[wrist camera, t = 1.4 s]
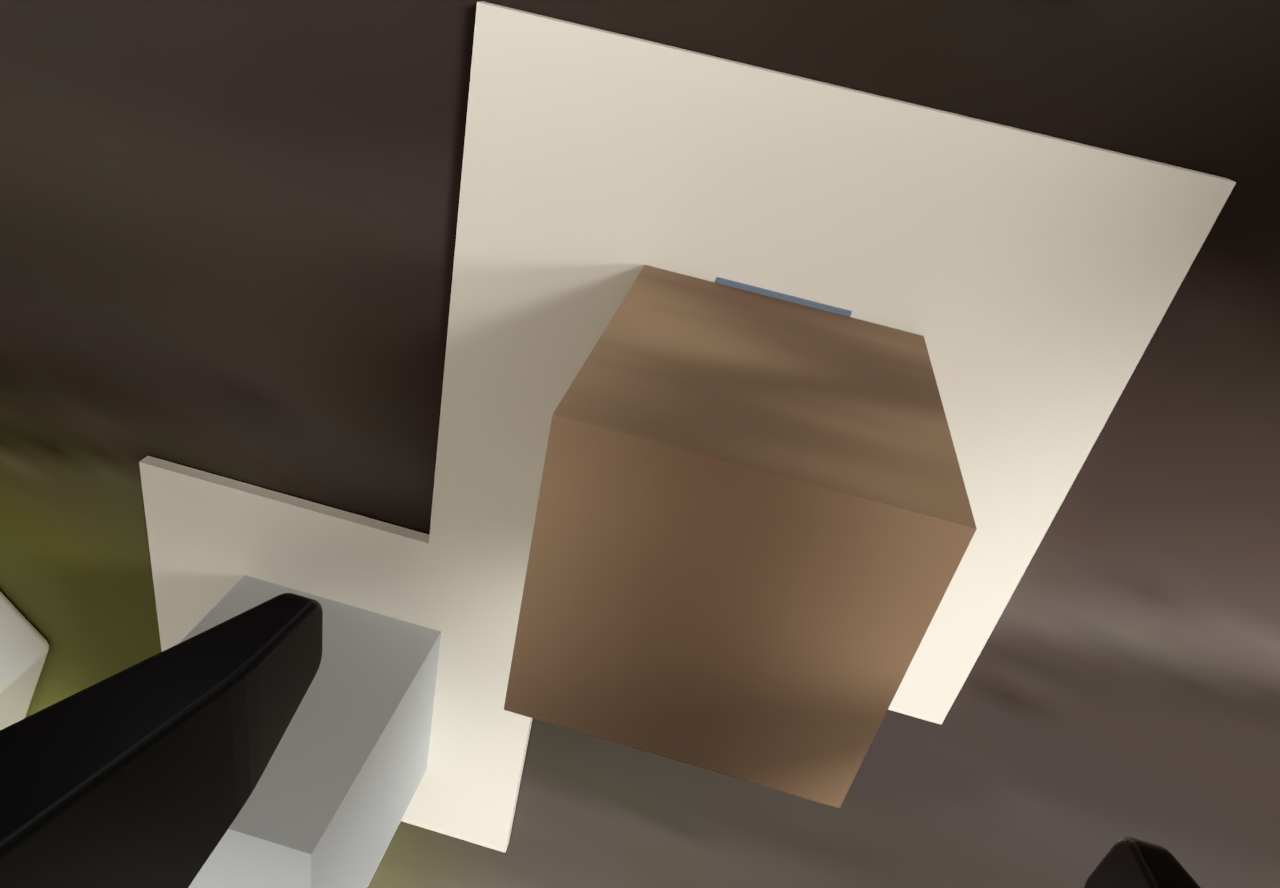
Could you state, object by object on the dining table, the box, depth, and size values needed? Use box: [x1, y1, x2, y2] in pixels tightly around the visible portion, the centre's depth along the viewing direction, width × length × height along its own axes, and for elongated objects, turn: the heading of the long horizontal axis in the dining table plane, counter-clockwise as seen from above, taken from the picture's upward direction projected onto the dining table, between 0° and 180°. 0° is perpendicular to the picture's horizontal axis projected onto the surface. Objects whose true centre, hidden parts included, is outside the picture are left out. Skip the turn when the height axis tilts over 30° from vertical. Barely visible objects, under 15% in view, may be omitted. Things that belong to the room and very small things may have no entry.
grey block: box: [180, 575, 441, 888], centre depth 19 cm, size 5×5×6 cm
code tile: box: [429, 1, 1236, 724], centre depth 16 cm, size 12×12×1 cm
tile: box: [139, 456, 533, 853], centre depth 22 cm, size 10×10×1 cm
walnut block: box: [504, 265, 977, 808], centre depth 14 cm, size 5×5×6 cm
